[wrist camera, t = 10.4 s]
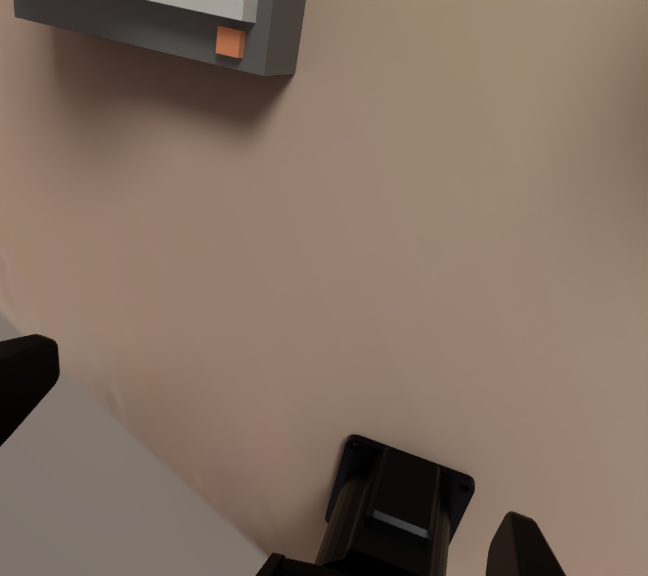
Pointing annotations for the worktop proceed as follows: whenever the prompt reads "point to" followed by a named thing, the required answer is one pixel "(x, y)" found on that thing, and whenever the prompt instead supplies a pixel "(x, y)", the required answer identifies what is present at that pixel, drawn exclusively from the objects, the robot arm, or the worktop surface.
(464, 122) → the worktop surface
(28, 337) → the robot arm
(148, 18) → the grey recessed tray
